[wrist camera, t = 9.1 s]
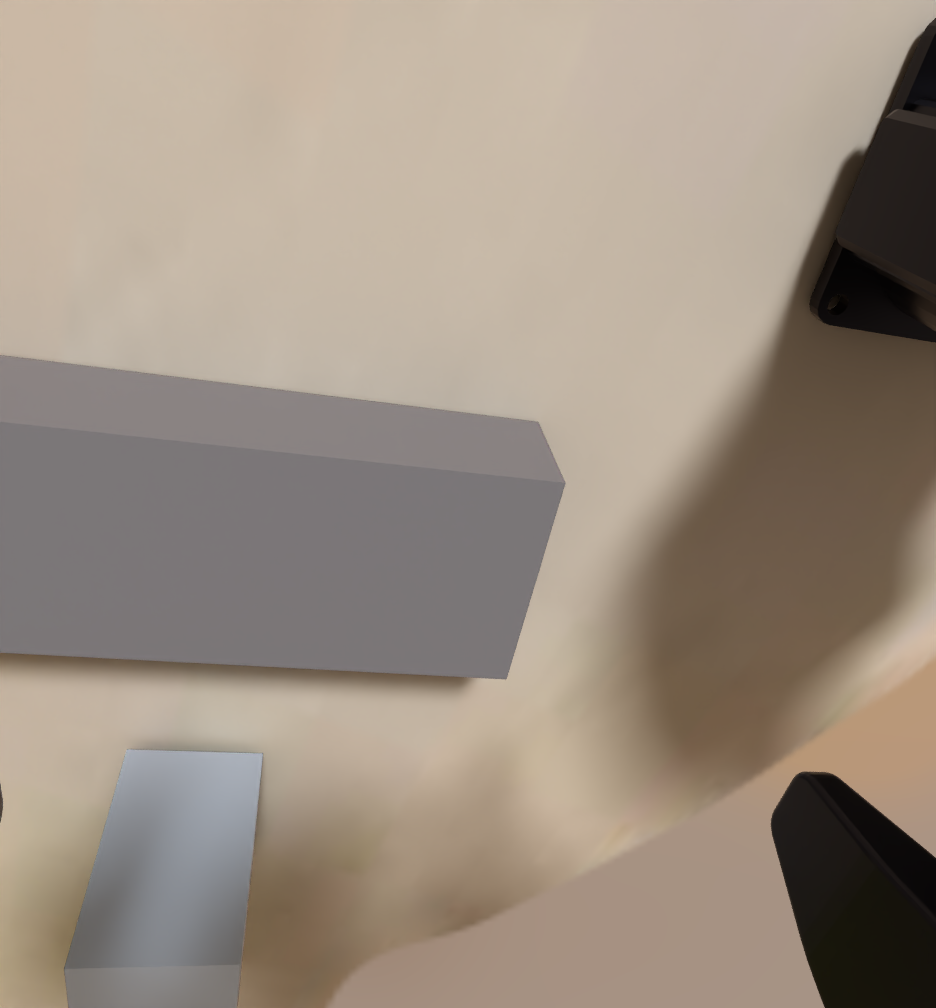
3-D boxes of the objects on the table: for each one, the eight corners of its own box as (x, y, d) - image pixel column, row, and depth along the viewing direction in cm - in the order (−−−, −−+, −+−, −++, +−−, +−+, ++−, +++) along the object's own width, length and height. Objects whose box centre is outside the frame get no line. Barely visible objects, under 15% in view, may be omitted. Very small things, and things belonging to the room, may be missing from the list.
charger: (262, 753, 25) (240, 964, 20) (253, 855, 28) (231, 1066, 22) (126, 749, 24) (64, 968, 19) (130, 854, 27) (75, 1074, 21)
